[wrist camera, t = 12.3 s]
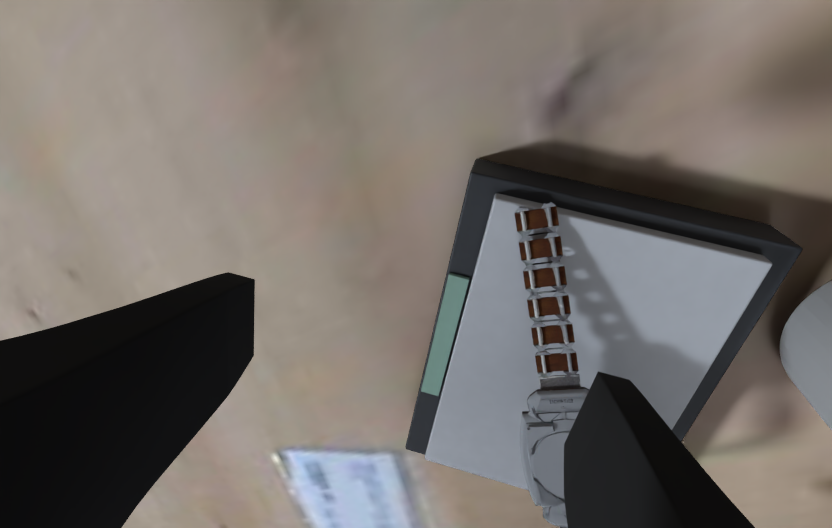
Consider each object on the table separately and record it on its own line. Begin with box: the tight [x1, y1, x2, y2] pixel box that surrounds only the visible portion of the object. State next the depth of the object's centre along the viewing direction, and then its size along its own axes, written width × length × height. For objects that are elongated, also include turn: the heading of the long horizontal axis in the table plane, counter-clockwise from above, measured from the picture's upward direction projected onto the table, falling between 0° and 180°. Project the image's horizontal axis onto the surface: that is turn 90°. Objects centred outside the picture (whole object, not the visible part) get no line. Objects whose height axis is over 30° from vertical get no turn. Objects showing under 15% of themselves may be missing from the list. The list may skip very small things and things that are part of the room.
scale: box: [406, 159, 802, 490], centre depth 19 cm, size 14×11×3 cm
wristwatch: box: [515, 202, 590, 528], centre depth 17 cm, size 4×14×5 cm, turn 14°
